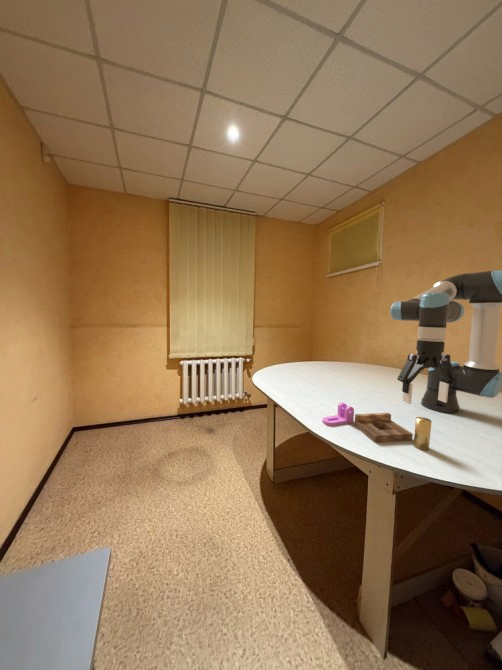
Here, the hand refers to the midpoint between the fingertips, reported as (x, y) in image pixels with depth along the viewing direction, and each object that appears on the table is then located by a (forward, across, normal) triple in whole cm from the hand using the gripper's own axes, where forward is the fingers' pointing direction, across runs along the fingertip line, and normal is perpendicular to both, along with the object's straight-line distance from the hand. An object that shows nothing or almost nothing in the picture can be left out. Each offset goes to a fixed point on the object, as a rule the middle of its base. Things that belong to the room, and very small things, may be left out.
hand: (424, 401), depth 84 cm
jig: (+16, +7, -11) cm, 21 cm away
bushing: (+16, 0, 0) cm, 16 cm away
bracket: (+17, +20, -22) cm, 34 cm away
